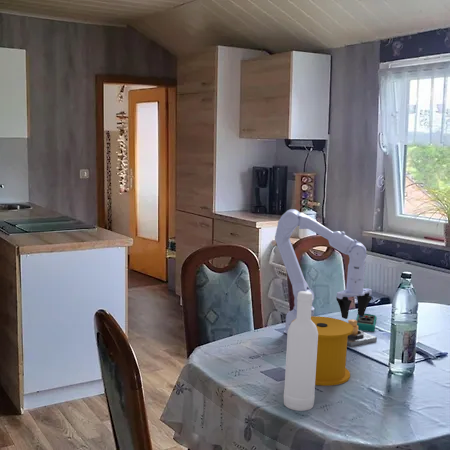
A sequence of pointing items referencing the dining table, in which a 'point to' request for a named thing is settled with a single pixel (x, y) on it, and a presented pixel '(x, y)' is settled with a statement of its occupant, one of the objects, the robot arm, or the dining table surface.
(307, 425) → the dining table surface
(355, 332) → the orange rounded knob
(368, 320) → the digital multimeter
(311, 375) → the bottle
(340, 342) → the spool
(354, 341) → the junction plate
